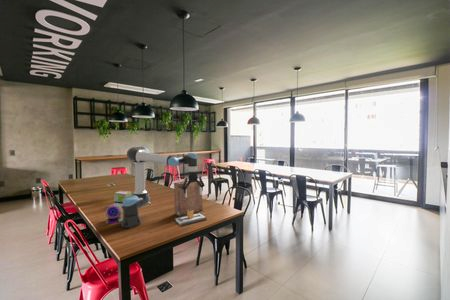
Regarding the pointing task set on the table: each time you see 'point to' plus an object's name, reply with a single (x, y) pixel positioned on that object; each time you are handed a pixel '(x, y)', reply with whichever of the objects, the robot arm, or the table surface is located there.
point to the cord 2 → (193, 221)
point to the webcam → (114, 213)
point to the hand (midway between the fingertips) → (193, 196)
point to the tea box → (121, 197)
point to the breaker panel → (186, 219)
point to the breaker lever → (190, 213)
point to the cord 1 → (184, 216)
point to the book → (192, 198)
